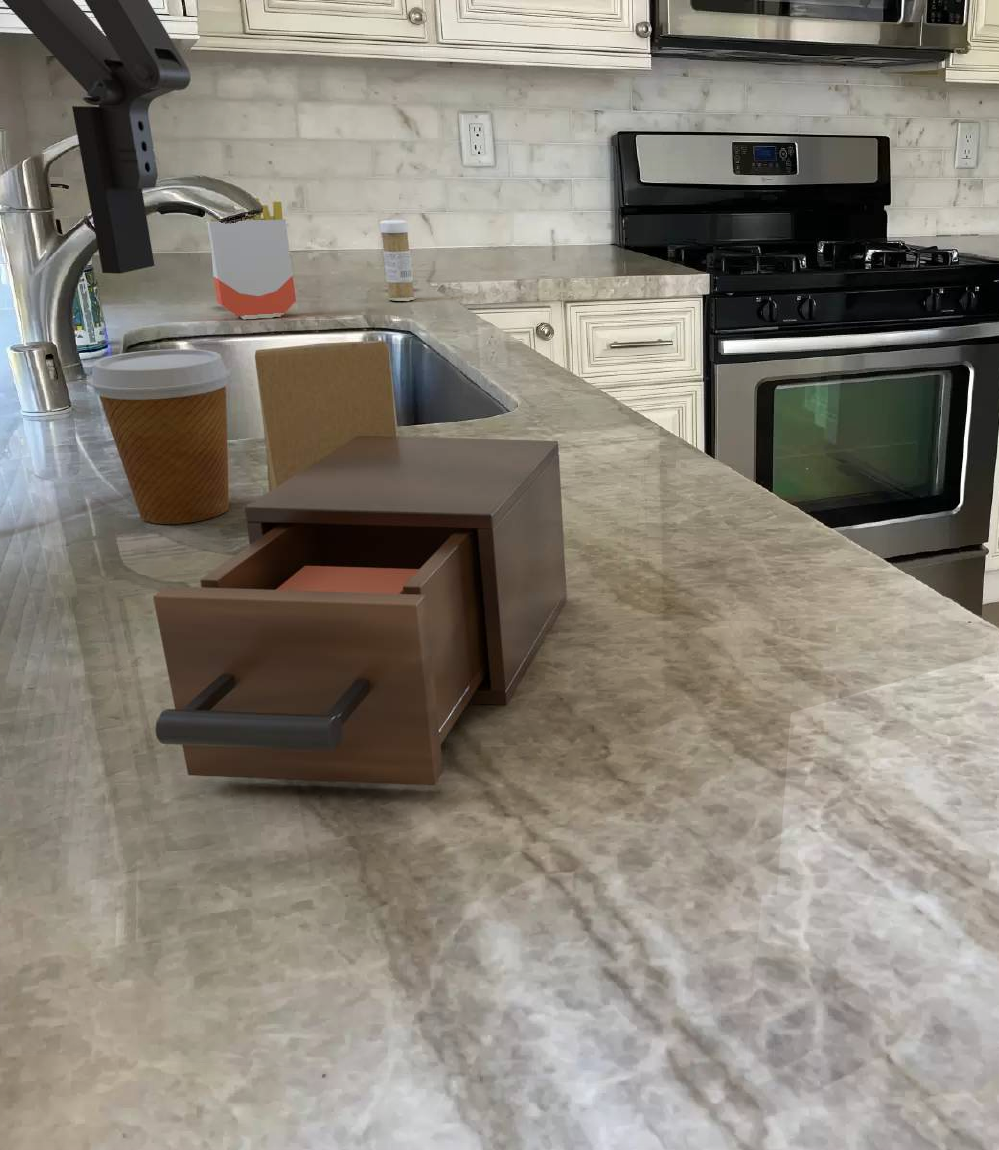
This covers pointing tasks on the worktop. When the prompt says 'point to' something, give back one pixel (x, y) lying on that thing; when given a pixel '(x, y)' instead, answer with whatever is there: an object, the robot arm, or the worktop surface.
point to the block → (349, 579)
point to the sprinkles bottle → (397, 258)
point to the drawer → (325, 657)
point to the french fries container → (253, 264)
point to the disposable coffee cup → (169, 429)
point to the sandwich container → (322, 401)
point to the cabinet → (452, 523)
